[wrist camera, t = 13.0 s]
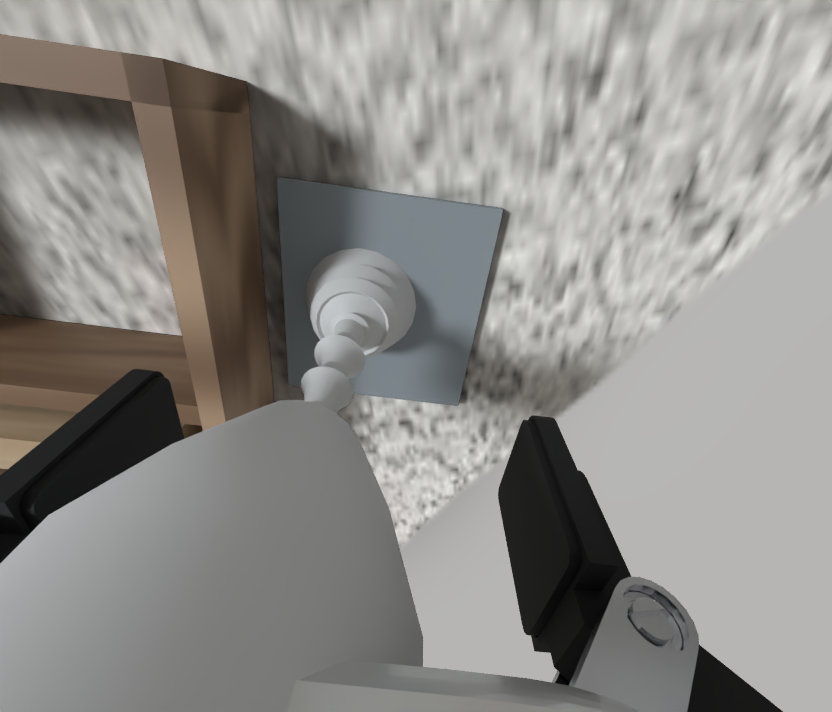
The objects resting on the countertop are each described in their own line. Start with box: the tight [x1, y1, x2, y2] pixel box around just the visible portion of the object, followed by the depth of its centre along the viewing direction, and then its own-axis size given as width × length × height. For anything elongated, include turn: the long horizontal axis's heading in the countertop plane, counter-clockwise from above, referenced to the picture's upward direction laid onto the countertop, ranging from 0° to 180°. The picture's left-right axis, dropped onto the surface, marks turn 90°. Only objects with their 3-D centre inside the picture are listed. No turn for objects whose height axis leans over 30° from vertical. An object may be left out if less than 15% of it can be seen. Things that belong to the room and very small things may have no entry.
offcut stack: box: [0, 403, 203, 469], centre depth 18 cm, size 4×12×6 cm, turn 83°
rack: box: [0, 34, 274, 475], centre depth 16 cm, size 18×16×5 cm
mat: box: [277, 177, 503, 406], centre depth 18 cm, size 10×9×1 cm
